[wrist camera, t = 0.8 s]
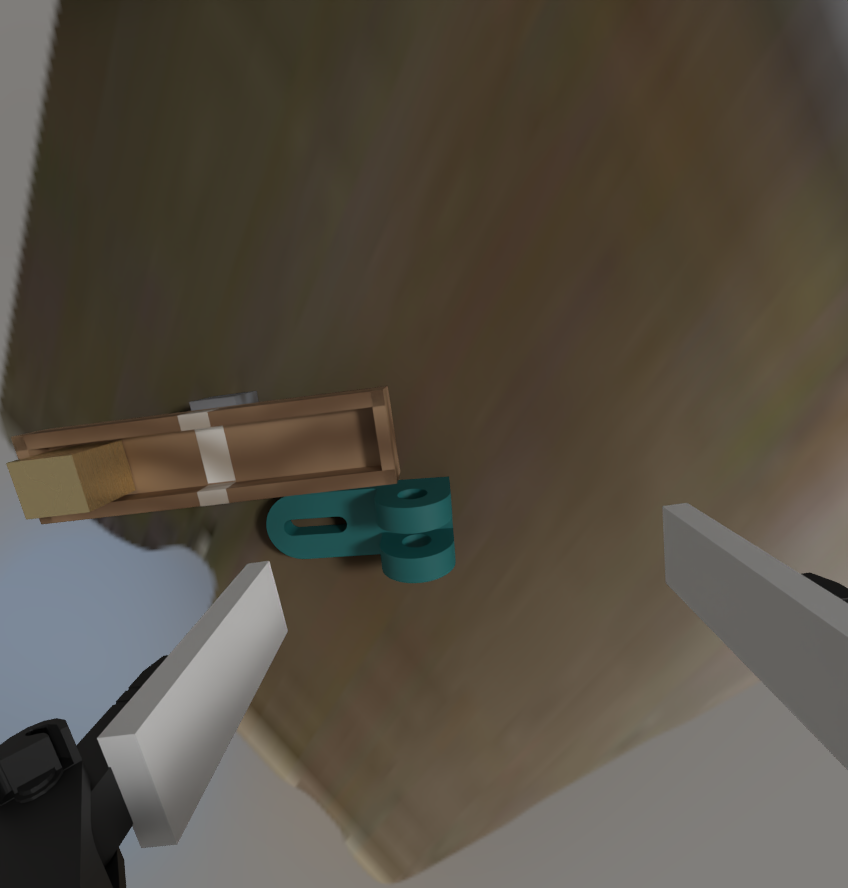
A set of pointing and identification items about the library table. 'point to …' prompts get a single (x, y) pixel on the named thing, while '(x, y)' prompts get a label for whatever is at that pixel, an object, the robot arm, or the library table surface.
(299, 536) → the bracket
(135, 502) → the brown long open piece
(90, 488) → the block
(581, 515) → the library table surface
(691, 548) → the robot arm
